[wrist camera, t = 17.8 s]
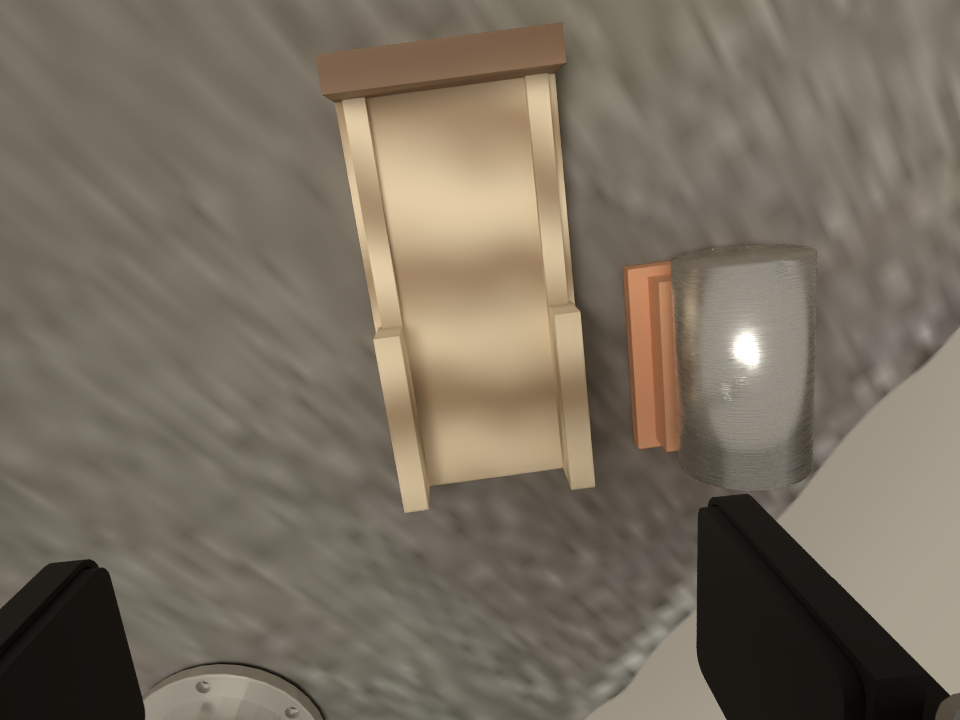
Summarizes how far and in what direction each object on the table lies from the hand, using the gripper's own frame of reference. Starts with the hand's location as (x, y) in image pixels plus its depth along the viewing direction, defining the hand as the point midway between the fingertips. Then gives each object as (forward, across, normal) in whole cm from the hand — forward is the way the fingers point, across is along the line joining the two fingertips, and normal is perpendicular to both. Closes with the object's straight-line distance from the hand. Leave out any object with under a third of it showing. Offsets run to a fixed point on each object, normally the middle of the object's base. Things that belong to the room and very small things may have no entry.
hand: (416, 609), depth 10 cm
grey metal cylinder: (+22, -14, +3) cm, 26 cm away
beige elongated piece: (+25, -2, -2) cm, 25 cm away
